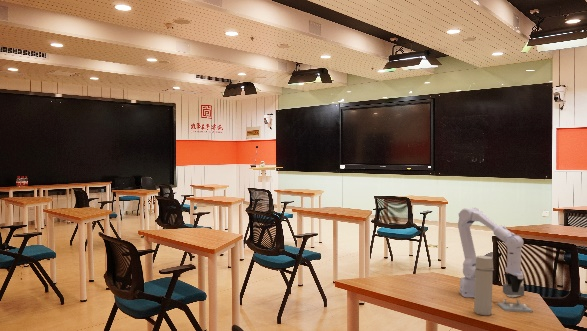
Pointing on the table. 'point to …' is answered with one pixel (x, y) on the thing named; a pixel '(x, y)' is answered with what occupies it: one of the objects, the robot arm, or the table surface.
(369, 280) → the table surface
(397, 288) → the table surface
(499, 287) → the table surface
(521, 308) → the grey mounting plate
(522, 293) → the block
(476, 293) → the water bottle
